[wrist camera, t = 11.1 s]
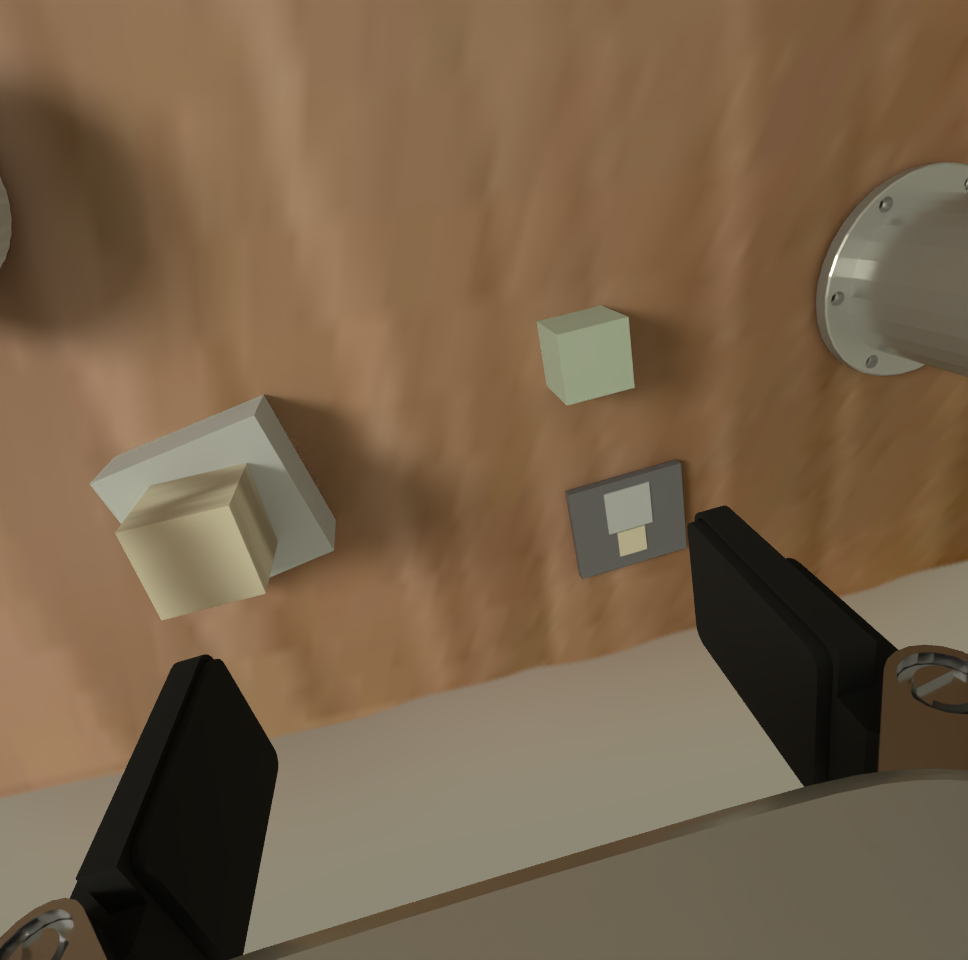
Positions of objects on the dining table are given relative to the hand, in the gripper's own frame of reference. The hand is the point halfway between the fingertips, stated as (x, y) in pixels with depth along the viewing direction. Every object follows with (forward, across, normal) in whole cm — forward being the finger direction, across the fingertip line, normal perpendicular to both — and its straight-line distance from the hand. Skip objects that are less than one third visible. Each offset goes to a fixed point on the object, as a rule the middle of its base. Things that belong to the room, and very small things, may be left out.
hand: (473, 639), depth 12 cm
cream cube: (+21, +13, +5) cm, 25 cm away
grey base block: (+25, +13, +5) cm, 29 cm away
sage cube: (+26, -9, +2) cm, 27 cm away
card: (+26, -11, +16) cm, 32 cm away
